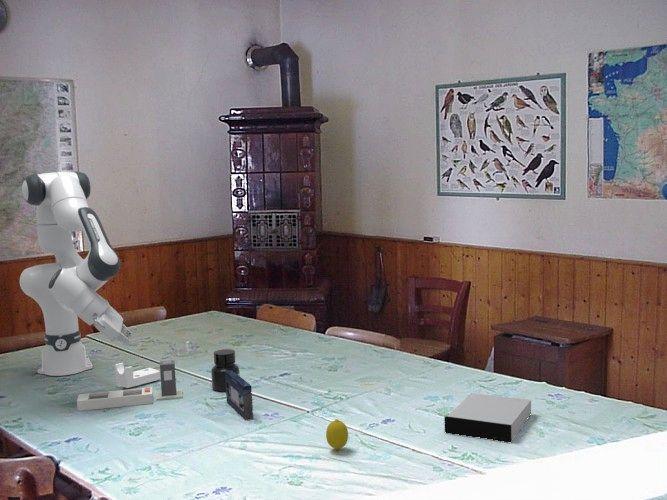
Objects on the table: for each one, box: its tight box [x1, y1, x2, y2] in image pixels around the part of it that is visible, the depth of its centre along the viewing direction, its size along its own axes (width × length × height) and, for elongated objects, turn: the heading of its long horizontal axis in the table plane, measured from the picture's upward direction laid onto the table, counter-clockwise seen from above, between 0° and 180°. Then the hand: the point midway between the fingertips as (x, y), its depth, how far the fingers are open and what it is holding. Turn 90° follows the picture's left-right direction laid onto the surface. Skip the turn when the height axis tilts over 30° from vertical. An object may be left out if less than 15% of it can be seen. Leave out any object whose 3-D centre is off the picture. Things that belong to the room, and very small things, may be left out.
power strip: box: [76, 386, 154, 412], centre depth 234 cm, size 22×7×4 cm, turn 102°
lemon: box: [325, 419, 349, 451], centre depth 192 cm, size 6×6×8 cm
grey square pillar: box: [159, 359, 177, 396], centre depth 240 cm, size 4×4×10 cm
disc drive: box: [444, 392, 532, 443], centre depth 207 cm, size 18×22×5 cm
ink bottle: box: [210, 348, 241, 393], centre depth 246 cm, size 10×9×12 cm
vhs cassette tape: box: [225, 370, 254, 421], centre depth 224 cm, size 18×3×10 cm, turn 23°
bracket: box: [114, 362, 161, 389], centre depth 254 cm, size 13×7×8 cm, turn 135°
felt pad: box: [155, 388, 183, 401], centre depth 241 cm, size 8×8×1 cm
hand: (130, 339), depth 236 cm, fingers open, 8 cm apart
